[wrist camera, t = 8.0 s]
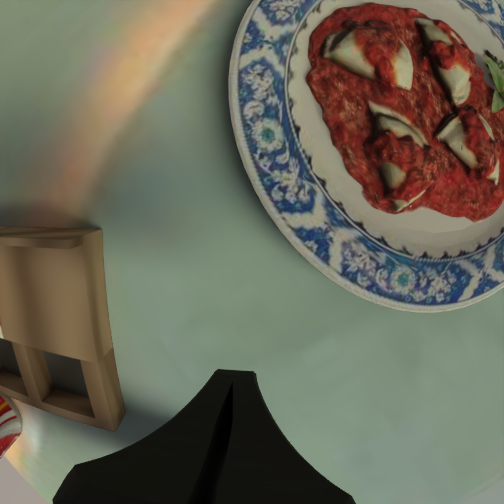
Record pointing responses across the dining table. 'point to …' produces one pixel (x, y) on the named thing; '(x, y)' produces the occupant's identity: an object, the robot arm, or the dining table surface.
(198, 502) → the robot arm
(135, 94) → the dining table surface
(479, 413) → the dining table surface
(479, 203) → the ceramic plate
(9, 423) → the soda can
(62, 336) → the wooden compartment tray
